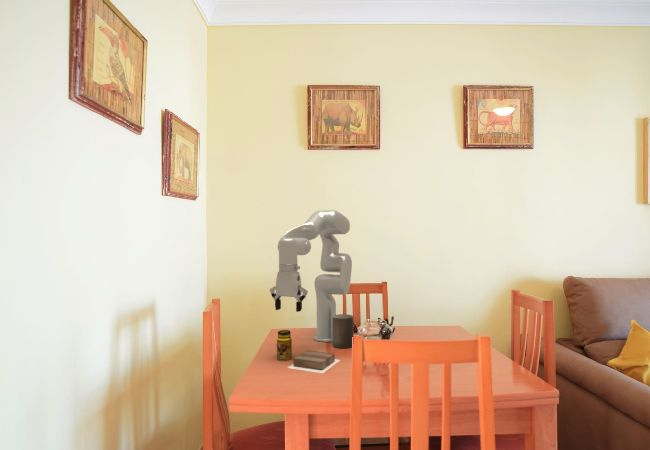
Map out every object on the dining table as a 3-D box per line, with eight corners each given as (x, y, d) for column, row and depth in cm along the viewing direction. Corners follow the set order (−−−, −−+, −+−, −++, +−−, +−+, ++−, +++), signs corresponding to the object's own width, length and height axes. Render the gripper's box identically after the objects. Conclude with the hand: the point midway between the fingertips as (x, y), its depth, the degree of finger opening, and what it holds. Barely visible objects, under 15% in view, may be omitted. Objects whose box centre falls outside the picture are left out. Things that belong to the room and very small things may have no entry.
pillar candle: (354, 348, 183) (353, 315, 183) (332, 348, 183) (332, 315, 184) (353, 343, 193) (352, 311, 193) (332, 343, 193) (332, 311, 193)
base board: (307, 357, 170) (307, 355, 170) (340, 361, 164) (340, 359, 164) (287, 369, 155) (287, 367, 155) (322, 375, 149) (322, 373, 149)
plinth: (307, 357, 167) (307, 350, 168) (334, 361, 162) (334, 353, 163) (293, 366, 157) (293, 358, 157) (321, 370, 152) (321, 362, 152)
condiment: (277, 363, 162) (277, 333, 163) (273, 357, 170) (273, 329, 171) (295, 362, 164) (295, 332, 165) (290, 356, 173) (290, 327, 173)
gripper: (311, 268, 167) (311, 310, 166) (274, 267, 174) (275, 307, 173) (302, 270, 160) (302, 313, 159) (265, 268, 167) (265, 310, 167)
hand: (288, 310), depth 166 cm, fingers open, 9 cm apart
